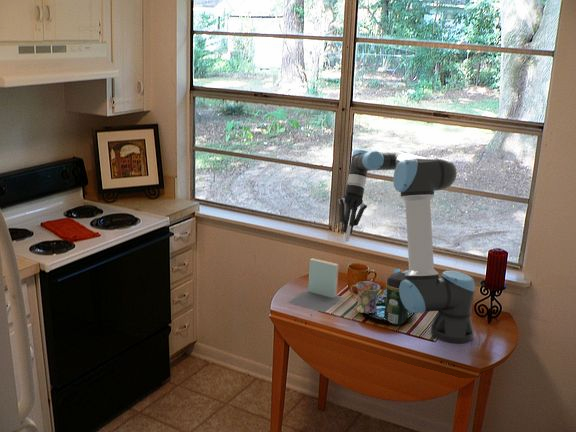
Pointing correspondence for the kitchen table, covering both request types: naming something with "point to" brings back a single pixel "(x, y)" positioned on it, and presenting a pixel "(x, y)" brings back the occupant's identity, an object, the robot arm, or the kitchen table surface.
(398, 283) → the coffee jar
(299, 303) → the mat
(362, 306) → the mug
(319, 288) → the tile
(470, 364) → the kitchen table surface
